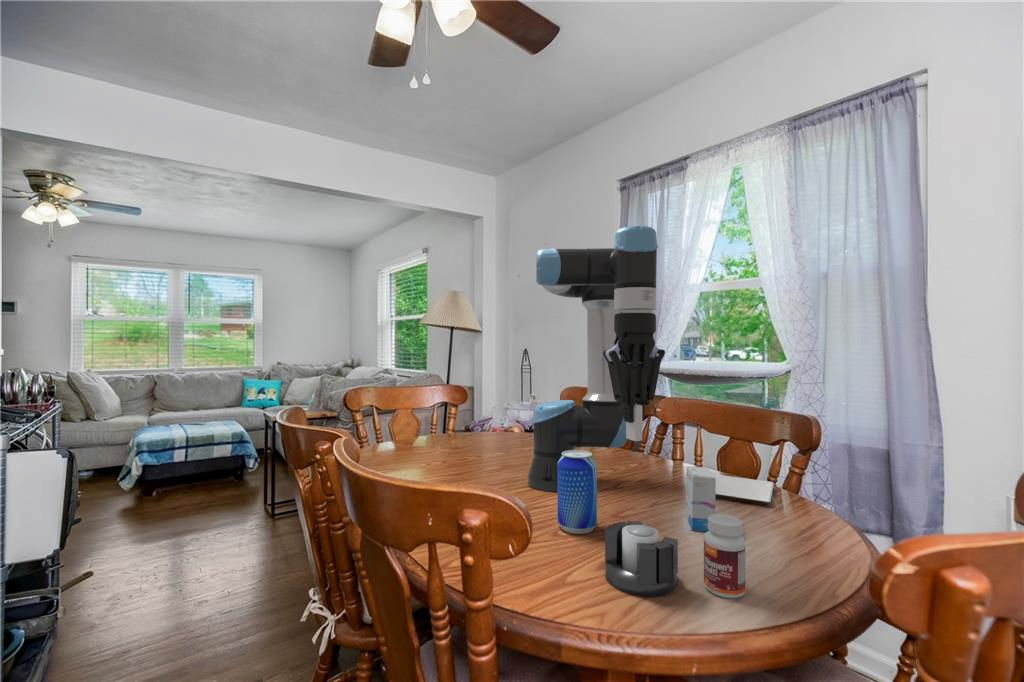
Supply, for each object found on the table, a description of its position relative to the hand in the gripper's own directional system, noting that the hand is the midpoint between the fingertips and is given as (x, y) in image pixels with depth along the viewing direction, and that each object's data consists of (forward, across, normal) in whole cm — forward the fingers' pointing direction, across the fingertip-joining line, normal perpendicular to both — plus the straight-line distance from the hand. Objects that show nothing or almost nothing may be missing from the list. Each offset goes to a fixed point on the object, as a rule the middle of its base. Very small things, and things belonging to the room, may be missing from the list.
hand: (634, 439), depth 88 cm
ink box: (+23, +24, +6) cm, 33 cm away
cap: (+20, -5, -8) cm, 22 cm away
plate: (+24, +50, +19) cm, 58 cm away
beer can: (+23, -2, +16) cm, 28 cm away
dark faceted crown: (+22, -5, -7) cm, 23 cm away
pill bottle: (+22, +5, -16) cm, 28 cm away
